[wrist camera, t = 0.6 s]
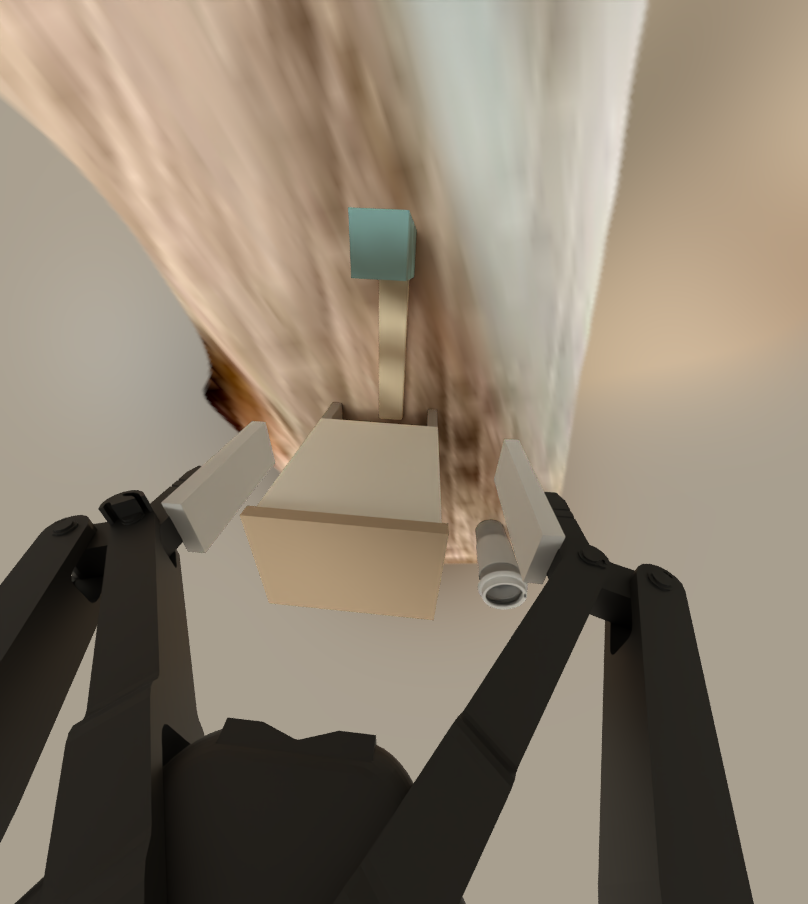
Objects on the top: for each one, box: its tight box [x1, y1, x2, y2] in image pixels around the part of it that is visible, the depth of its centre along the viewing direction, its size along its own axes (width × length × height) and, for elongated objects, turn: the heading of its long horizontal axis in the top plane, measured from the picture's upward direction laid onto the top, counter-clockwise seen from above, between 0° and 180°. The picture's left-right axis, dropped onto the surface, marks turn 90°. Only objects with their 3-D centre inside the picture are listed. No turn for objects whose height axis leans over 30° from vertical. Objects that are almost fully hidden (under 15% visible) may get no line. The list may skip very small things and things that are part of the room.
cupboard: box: [240, 402, 449, 620], centre depth 33 cm, size 11×15×22 cm
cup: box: [476, 520, 528, 609], centre depth 45 cm, size 7×7×12 cm
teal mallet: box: [348, 207, 417, 420], centre depth 30 cm, size 20×4×12 cm, turn 177°
